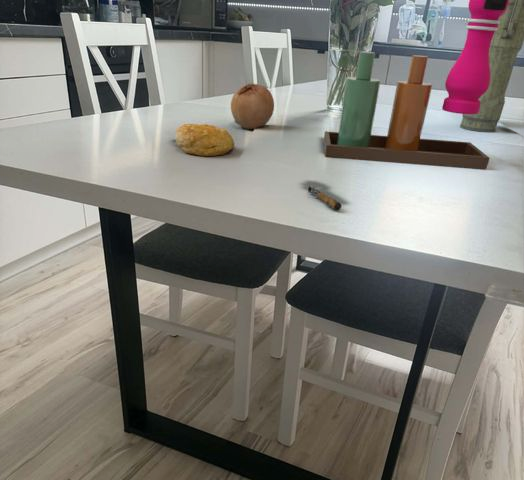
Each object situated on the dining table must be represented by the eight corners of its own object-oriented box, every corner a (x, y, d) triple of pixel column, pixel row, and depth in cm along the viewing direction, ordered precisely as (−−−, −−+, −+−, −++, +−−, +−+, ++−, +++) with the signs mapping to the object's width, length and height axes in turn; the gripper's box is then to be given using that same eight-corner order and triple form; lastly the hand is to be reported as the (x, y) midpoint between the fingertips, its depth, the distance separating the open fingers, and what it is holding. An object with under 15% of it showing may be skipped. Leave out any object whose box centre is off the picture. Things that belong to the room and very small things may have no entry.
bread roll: (245, 154, 87) (246, 126, 84) (188, 159, 82) (187, 129, 79) (220, 142, 93) (220, 115, 91) (166, 146, 88) (165, 118, 86)
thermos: (488, 125, 128) (539, -45, 107) (502, 134, 118) (561, -51, 98) (454, 122, 128) (499, -47, 108) (465, 131, 118) (516, -53, 98)
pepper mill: (484, 116, 83) (528, -32, 71) (441, 112, 83) (478, -35, 72) (476, 110, 88) (515, -28, 77) (436, 106, 89) (469, -31, 78)
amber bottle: (413, 152, 93) (434, 56, 84) (418, 160, 88) (442, 58, 79) (382, 150, 93) (400, 53, 84) (385, 157, 88) (405, 56, 79)
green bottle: (366, 148, 93) (382, 52, 84) (369, 156, 89) (387, 54, 79) (335, 146, 94) (348, 50, 85) (337, 153, 89) (351, 52, 80)
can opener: (341, 211, 64) (342, 202, 63) (325, 211, 63) (326, 203, 63) (317, 190, 71) (318, 182, 70) (302, 191, 70) (303, 183, 70)
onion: (247, 146, 106) (240, 103, 97) (227, 125, 110) (218, 82, 102) (284, 127, 107) (279, 84, 99) (263, 108, 112) (257, 64, 103)
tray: (466, 156, 96) (470, 142, 94) (485, 173, 85) (489, 157, 84) (323, 145, 97) (324, 131, 95) (324, 160, 86) (326, 145, 85)
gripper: (585, -166, 60) (530, 11, 70) (532, -131, 74) (493, 12, 84) (524, -169, 60) (478, 7, 70) (483, -134, 74) (450, 9, 85)
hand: (487, 8), depth 77 cm, fingers closed on pepper mill, 6 cm apart
